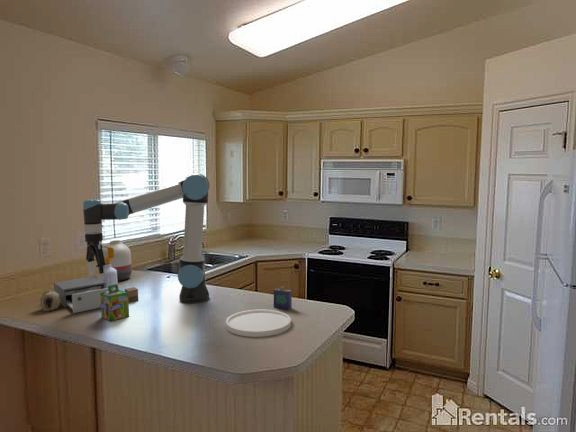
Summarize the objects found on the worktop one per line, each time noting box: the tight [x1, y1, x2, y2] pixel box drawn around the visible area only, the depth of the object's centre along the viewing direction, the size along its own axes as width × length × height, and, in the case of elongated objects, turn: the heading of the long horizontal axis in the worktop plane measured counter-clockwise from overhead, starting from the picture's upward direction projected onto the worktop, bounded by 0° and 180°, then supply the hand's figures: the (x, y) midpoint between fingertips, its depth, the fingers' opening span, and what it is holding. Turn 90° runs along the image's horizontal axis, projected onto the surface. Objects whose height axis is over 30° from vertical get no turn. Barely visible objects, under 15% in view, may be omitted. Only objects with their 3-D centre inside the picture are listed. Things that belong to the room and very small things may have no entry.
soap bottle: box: [102, 246, 119, 290], centre depth 246 cm, size 9×9×25 cm
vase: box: [102, 239, 133, 282], centre depth 269 cm, size 17×17×24 cm
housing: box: [53, 275, 106, 308], centre depth 228 cm, size 18×20×9 cm
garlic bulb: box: [39, 289, 61, 312], centre depth 212 cm, size 9×8×10 cm
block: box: [124, 286, 139, 303], centre depth 225 cm, size 5×5×6 cm
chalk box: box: [100, 284, 130, 322], centre depth 200 cm, size 9×9×15 cm
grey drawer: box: [65, 286, 113, 314], centre depth 218 cm, size 18×19×9 cm
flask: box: [273, 286, 293, 310], centre depth 211 cm, size 9×3×11 cm, turn 68°
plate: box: [225, 308, 292, 338], centre depth 189 cm, size 28×28×2 cm
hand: (96, 277), depth 206 cm, fingers open, 13 cm apart
